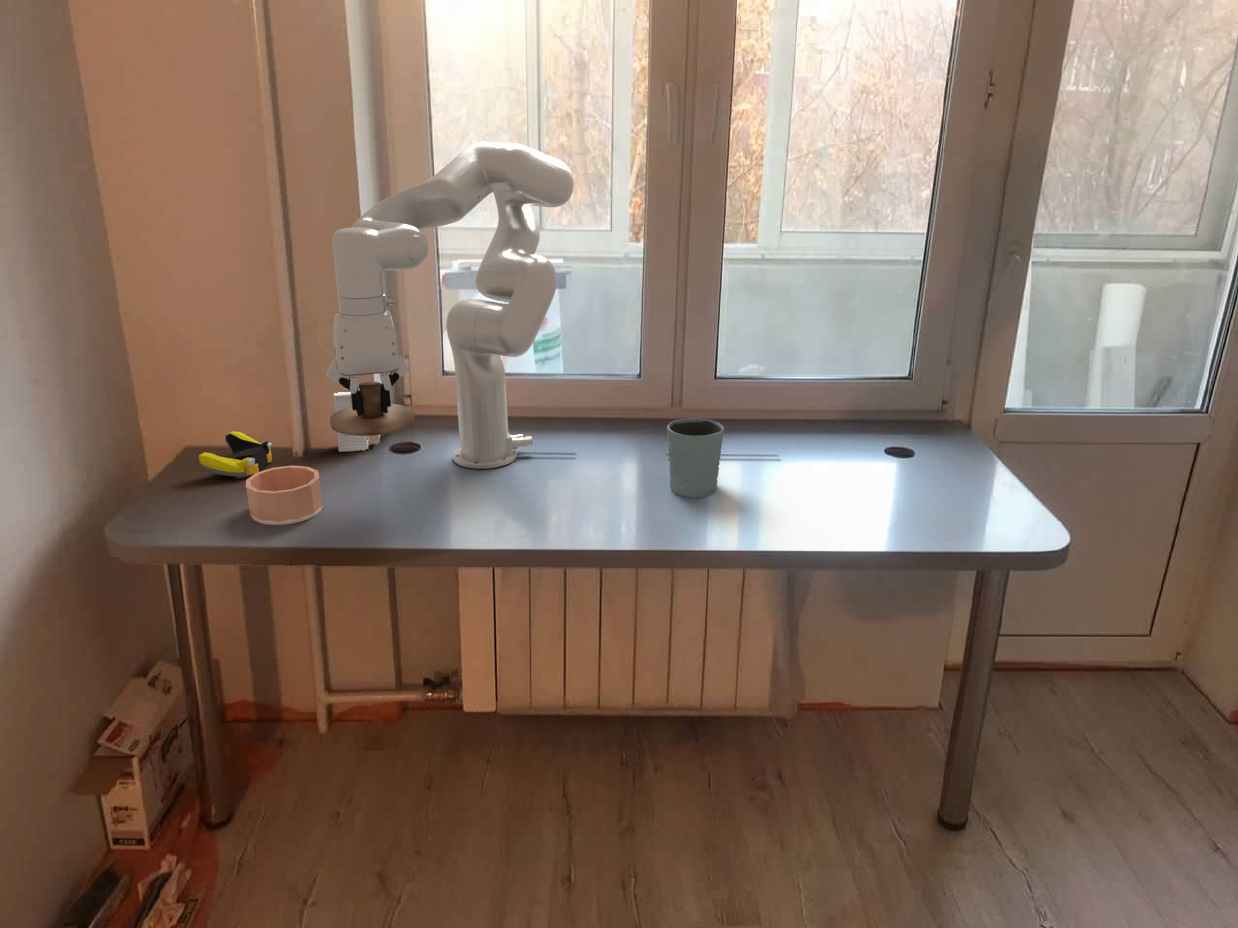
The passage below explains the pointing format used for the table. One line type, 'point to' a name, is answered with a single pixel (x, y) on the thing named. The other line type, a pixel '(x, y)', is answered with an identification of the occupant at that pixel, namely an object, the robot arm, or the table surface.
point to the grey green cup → (694, 456)
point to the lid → (372, 415)
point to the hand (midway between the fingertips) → (371, 411)
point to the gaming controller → (238, 457)
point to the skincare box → (345, 440)
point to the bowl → (284, 495)
